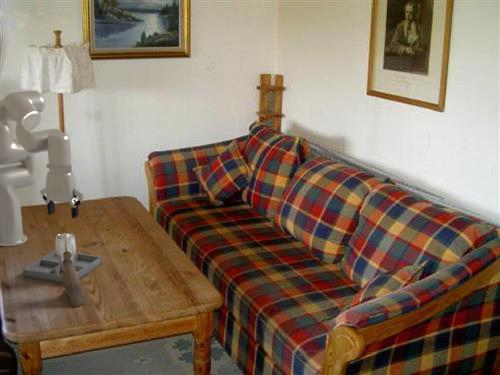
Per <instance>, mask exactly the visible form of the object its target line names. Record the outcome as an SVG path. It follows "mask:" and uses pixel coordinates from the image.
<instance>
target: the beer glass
mask: <svg viewBox="0 0 500 375" xmlns="http://www.w3.org/2000/svg"><path fill="white" fill-rule="evenodd" d="M55 250H56V254H57V258H58V261H59V267H60V269H59V275H61V272H62V271H63V260H64V258H63V253H64V252H66V251H68V252H70V253H71V255H72V256H71V258H70V260H72V262H73V264H74V269H75V255H76V253H77V246H76V237H75V234H73V233H67V232H65V233H60V234H57V235H56V236H55Z"/></svg>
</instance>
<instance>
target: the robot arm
mask: <svg viewBox="0 0 500 375" xmlns="http://www.w3.org/2000/svg"><path fill="white" fill-rule="evenodd" d="M44 109H45V99H44V96H43V95H42V94H41V93H40V92H39V91H36V90H25V91H15V92H11V93H8V94H6V95H5V97H4V98H3V99H0V165H10V164H15V163H16V164H17V163H19V164H17V165H16V164H15V165H10V166H4V167H0V246H1V247H16V246H20V245H22V244H24V243H26V242H27V241H28V236H27V235H26V234H24V231H23V230H24V229H23V218H22V207H21V206H22V205H21V200H20V197H19V196H18V195H17V194H16V193H15V192H14V191H15V190H19V189H24V188H29V187H32V186H34V185H35V183H36V180H37V179H36V178H37V176H36V174H37V173H36V163H35V162H36V161H35V154H38V153H43V152H44V153H45V152H47V159H48V161H47V162H48V163H47V164H46V168H47V169H48V172H47V173H46V178H45V188H42V189H41V190H40V191H39V193H40V195H41V196H42V199H43V201H44V202H45V204H46V206H47V214H48V216H51V215H52V214H55V213H56V207H55V202H57V203H65V204H67V203H69V204H70V205H71V208H70V210H71V219H76V218H77V217H79V214H80V212H79V206H80V205H81V204H82V203H83V202H84V199H85V195H84V194H83V193H81V192H79V190H77V183H76V179H75V178H76V177H75V175H74V172H73V170H72V169H73V168H72V167H73V166H72V152H71V137H70V135H69V134H67V133H65V132H63V131H62V130H60V129H59V128H50V129H49V128H48V129H39V130H34V129H36V128H37V127H38V126H39V125H40V123H41V121H42V115H41V113H42V112H43V111H44ZM9 122H16V124H15V129H14V130H15V131H14V132H15V137H16V138H14V133H13V128H12V126H11V125H10V124H9ZM77 198H78V199H77Z"/></svg>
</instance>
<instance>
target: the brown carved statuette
mask: <svg viewBox="0 0 500 375" xmlns="http://www.w3.org/2000/svg"><path fill="white" fill-rule="evenodd" d="M71 256H72V255H71V253H70V252H68V251H66V252H64V253H63V258H64V260H63V271H62V272H61V275H62V281H63V284H62V285H63V286H64V290H63V291H62V292H61V296H62V297H63V298H64V299H65V300H66V302H67V303H68V304H69V305H70V306H71V307H72V308H79V307H83V306H86V305H87V298H86V297H85V294H84V292H83V289H82V286H81V283H80V280H79V279H78V275H77V272H76V269H74V264H73V262H72V260H70V258H71Z"/></svg>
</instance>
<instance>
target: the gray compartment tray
mask: <svg viewBox="0 0 500 375" xmlns="http://www.w3.org/2000/svg"><path fill="white" fill-rule="evenodd" d="M101 265H103V257H102V256H97V255H93V254H92V255H91V254H88V253H87V254H85V253H79V252H76V255H75V269H76V272H77V275H78V279H79V281H81V279H83V278H85V277H86V276H88V274H90V273H92V272H93V271H94V269H95V270H96V269H97V268H99V267H100V266H101ZM59 269H60V267H59V261H58V258H57V254H56V249H55V250H53V251H52V252H50V253H48V254H47V255H45V256H44V257H42V258H40V259H37V261H35V262H33V263H32V264H30V265H28V266H26V267H25V268H23V277H24V278H28V279H35V280H39V281H45V282H51V283H56V284H59V285H60V284H61V285H64V284H63V281H62V275H59Z"/></svg>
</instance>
